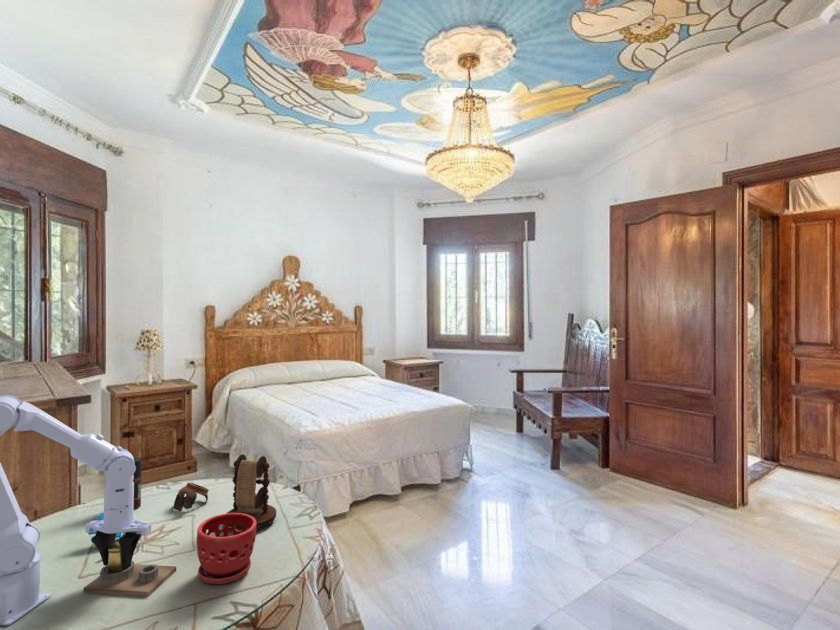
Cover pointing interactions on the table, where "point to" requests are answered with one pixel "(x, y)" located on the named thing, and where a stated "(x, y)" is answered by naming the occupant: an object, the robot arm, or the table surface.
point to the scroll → (252, 491)
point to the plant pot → (225, 547)
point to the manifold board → (131, 580)
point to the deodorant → (137, 482)
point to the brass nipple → (115, 558)
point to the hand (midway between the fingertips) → (117, 563)
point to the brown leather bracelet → (189, 496)
